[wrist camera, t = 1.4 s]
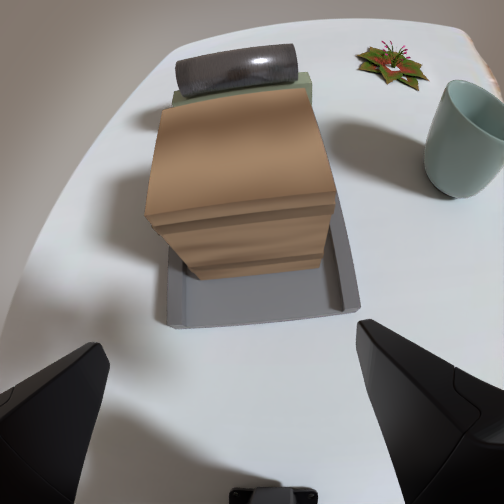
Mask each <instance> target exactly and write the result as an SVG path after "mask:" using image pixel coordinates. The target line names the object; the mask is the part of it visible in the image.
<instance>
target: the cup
mask: <svg viewBox="0 0 504 504" xmlns="http://www.w3.org/2000/svg"><path fill="white" fill-rule="evenodd" d="M424 166H425V170H426V173H427V176H428V177H429V179H430V181H431V182H432V183H433V185H434V186H435V187H436V188H438V189H439V190H440V191H442V192H443V193H445V194H447V195H449V196H452V197H455V198H469V197H472V196H475V195H476V194H478V193H479V192H480V191H482V190H483V189H484V188H485V187H486V186H487V185H488V184H489V183H490V182H491V181H492V180H493V179H494V178H495V177H496V175H497V174H498V173H499V172H500V170H501V169H502V168H503V166H504V104H503V103H502V102H501V101H500V100H499V99H498V98H496V97H495V96H494V95H492V94H491V93H489V92H488V91H486V90H485V89H483V88H481V87H479V86H477V85H475V84H473V83H470V82H467V81H463V80H453V81H450V82H449V83H448V84H447V86H446V88H445V90H444V92H443V95H442V97H441V100H440V102H439V105H438V108H437V110H436V113H435V115H434V118H433V121H432V123H431V126H430V129H429V132H428V136H427V139H426V143H425V149H424Z"/></svg>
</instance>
